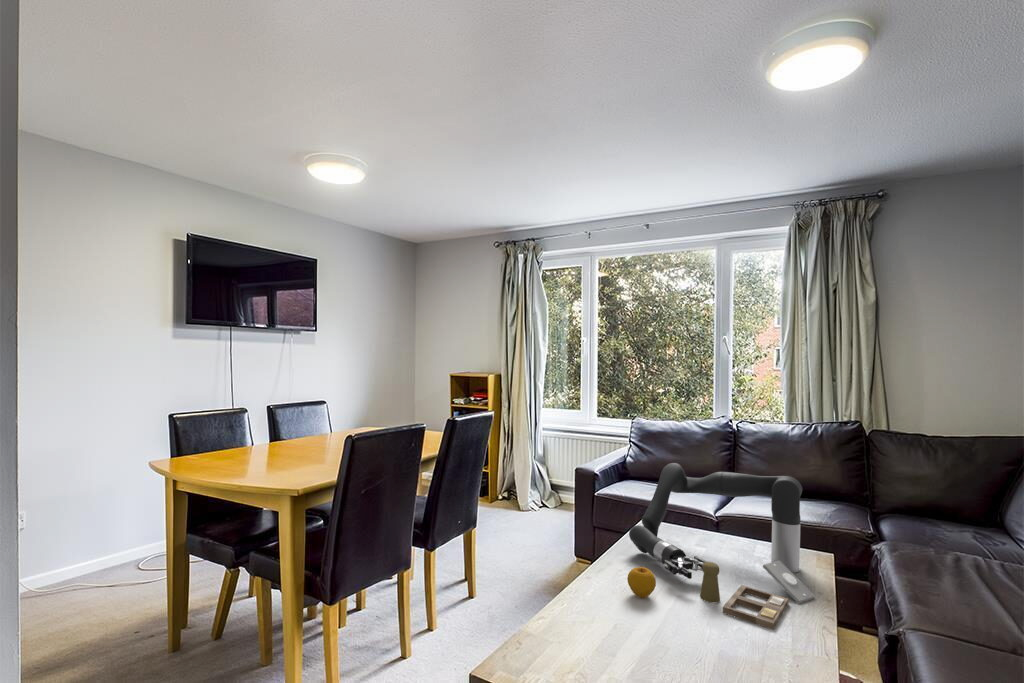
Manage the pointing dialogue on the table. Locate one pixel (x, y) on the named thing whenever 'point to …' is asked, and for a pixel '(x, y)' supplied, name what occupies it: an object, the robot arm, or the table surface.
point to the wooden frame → (757, 606)
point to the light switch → (789, 581)
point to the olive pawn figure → (710, 582)
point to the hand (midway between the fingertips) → (701, 574)
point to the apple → (641, 581)
